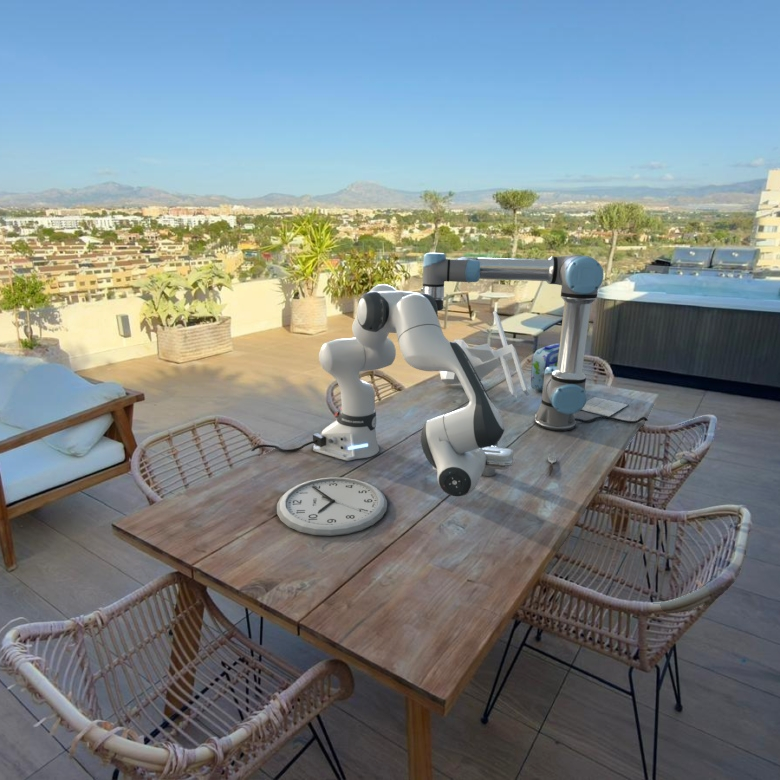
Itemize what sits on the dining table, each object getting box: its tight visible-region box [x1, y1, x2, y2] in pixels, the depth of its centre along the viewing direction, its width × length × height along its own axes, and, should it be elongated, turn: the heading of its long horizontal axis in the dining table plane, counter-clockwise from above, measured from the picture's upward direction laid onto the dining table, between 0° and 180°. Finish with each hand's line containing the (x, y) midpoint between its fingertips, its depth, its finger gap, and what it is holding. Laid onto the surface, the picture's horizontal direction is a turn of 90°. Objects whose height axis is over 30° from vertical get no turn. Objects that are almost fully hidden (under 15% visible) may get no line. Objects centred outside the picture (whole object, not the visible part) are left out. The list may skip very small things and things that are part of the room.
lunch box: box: [530, 343, 560, 391], centre depth 249 cm, size 26×11×21 cm, turn 134°
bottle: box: [481, 442, 499, 477], centre depth 161 cm, size 5×5×19 cm
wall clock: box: [276, 476, 388, 537], centre depth 142 cm, size 30×2×30 cm
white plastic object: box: [438, 310, 531, 400], centre depth 245 cm, size 37×45×31 cm
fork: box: [547, 451, 558, 477], centre depth 168 cm, size 3×16×2 cm, turn 160°
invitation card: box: [580, 396, 629, 417], centre depth 226 cm, size 21×1×15 cm
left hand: (476, 446), depth 139 cm, fingers open, 8 cm apart
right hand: (430, 357), depth 190 cm, fingers open, 13 cm apart
